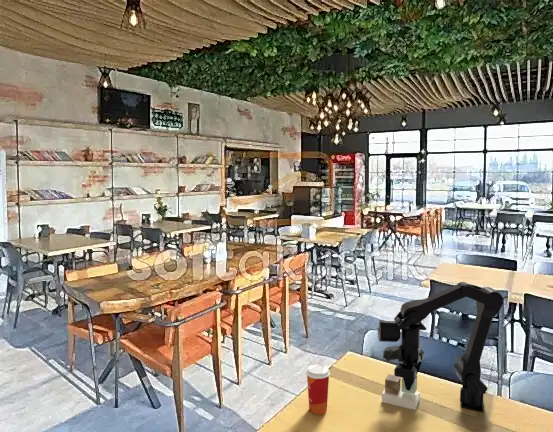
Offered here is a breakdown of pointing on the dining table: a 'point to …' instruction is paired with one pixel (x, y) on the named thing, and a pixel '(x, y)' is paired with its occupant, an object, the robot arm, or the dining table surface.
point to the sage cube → (413, 388)
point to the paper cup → (318, 388)
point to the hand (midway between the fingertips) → (409, 387)
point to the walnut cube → (392, 384)
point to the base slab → (402, 399)
